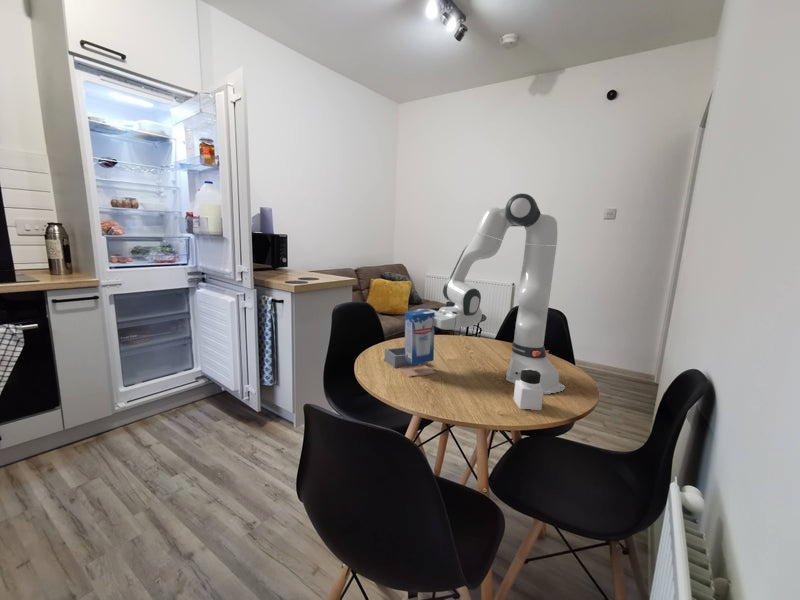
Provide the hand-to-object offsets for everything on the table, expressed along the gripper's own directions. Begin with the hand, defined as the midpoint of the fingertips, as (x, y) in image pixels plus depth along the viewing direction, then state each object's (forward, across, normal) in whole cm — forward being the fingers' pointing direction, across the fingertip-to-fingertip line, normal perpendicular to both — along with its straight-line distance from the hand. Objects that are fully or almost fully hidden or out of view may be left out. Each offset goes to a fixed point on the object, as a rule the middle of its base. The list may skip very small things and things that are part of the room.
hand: (417, 319), depth 136 cm
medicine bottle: (-21, +39, +21) cm, 49 cm away
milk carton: (-2, 0, +17) cm, 17 cm away
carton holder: (-1, -11, +22) cm, 24 cm away
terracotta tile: (-1, 0, +22) cm, 22 cm away
